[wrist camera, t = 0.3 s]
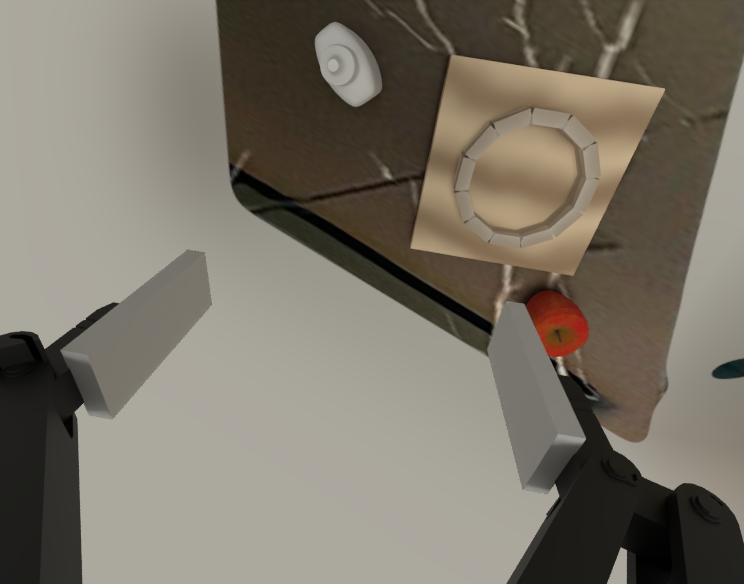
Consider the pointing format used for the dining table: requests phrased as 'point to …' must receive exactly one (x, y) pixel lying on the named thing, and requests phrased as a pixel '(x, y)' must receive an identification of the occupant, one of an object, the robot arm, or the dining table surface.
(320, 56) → the eye dropper bottle
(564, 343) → the apple
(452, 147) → the socket stand
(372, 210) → the dining table surface
